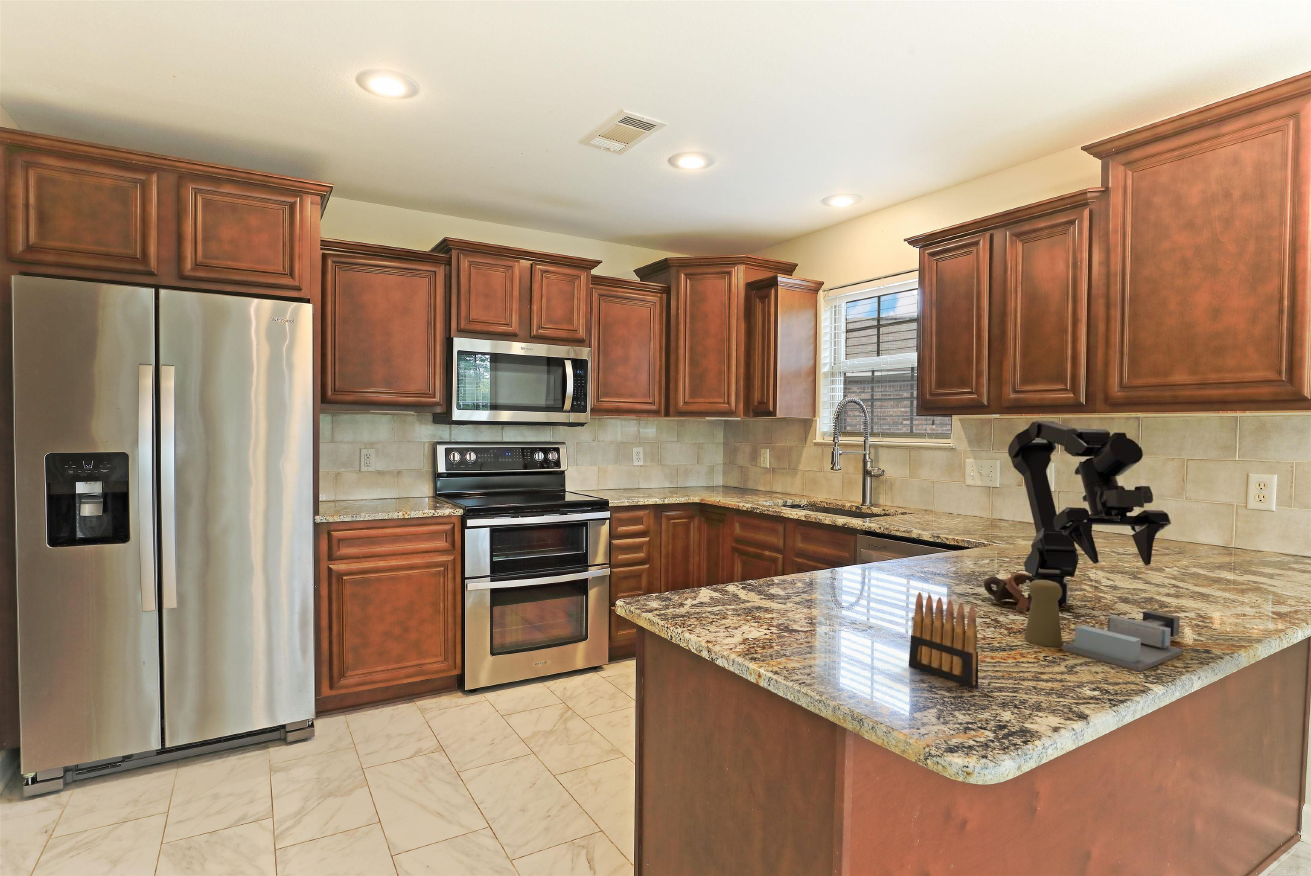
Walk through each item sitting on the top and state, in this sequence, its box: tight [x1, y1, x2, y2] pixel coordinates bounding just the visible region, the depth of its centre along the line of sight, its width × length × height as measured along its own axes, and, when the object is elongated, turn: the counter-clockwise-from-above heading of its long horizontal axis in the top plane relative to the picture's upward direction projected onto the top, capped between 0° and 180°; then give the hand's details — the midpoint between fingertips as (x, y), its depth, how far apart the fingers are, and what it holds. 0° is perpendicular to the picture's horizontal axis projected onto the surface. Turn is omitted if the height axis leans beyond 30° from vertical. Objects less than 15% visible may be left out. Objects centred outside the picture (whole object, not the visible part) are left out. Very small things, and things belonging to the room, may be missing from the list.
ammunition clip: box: [908, 591, 979, 689], centre depth 107 cm, size 11×2×12 cm, turn 35°
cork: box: [1023, 580, 1063, 648], centre depth 126 cm, size 6×6×11 cm
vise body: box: [1061, 624, 1184, 673], centre depth 124 cm, size 25×12×4 cm, turn 124°
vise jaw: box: [1106, 609, 1181, 649], centre depth 128 cm, size 12×9×3 cm
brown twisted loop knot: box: [983, 572, 1038, 613], centre depth 151 cm, size 12×10×8 cm
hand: (1122, 564), depth 129 cm, fingers open, 9 cm apart
